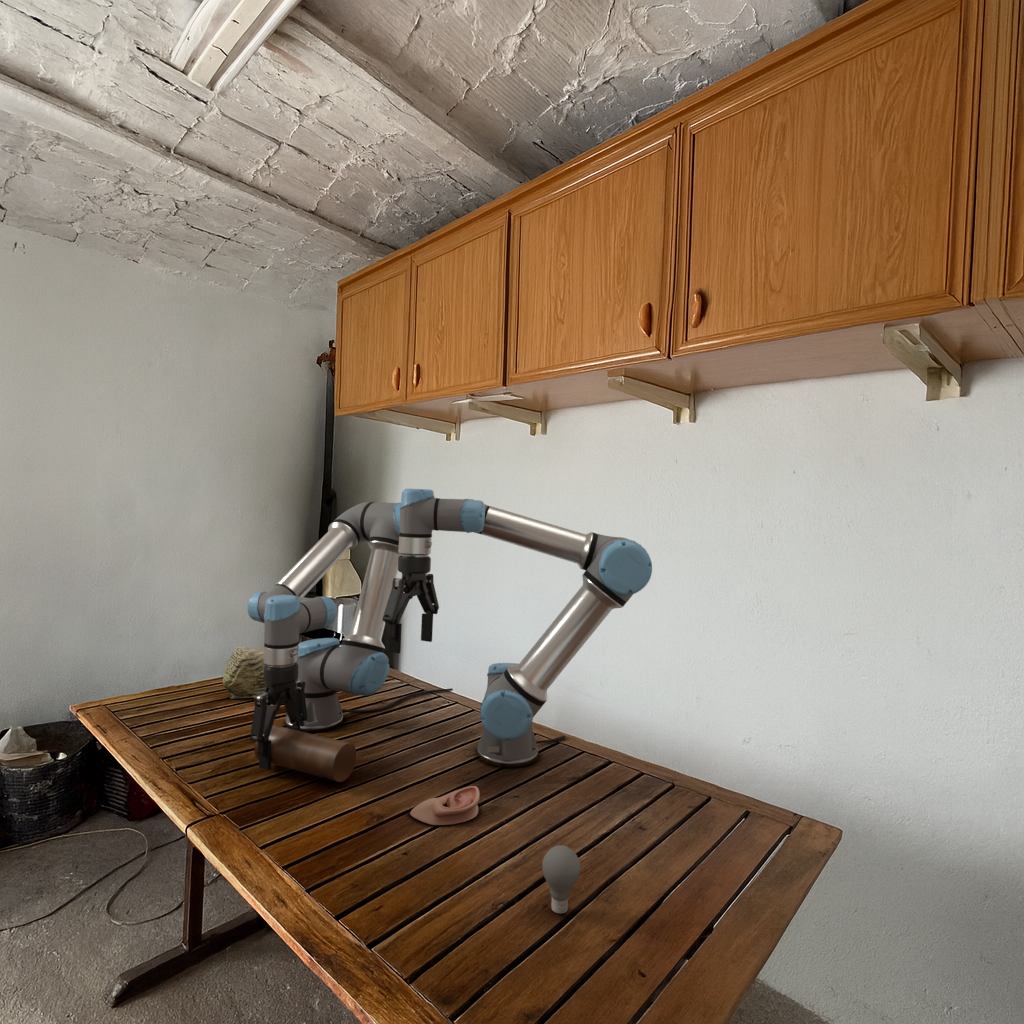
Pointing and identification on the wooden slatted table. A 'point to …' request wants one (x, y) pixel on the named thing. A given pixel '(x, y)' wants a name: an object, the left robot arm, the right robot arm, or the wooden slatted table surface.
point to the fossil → (245, 673)
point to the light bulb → (560, 875)
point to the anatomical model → (449, 807)
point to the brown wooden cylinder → (311, 753)
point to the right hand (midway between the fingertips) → (411, 646)
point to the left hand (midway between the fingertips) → (279, 760)
